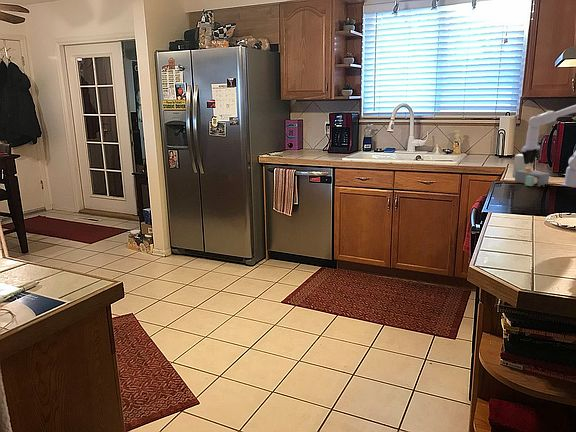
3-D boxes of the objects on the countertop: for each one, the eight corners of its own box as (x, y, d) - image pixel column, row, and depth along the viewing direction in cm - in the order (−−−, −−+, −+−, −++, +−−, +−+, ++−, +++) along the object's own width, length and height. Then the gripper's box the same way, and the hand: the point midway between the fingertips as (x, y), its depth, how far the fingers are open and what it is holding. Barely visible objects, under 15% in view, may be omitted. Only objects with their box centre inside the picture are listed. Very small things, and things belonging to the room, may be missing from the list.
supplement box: (529, 176, 281) (532, 154, 277) (525, 178, 276) (528, 156, 272) (516, 174, 286) (519, 153, 282) (511, 176, 280) (514, 155, 277)
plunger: (525, 174, 268) (526, 167, 267) (531, 175, 266) (532, 168, 264) (522, 174, 267) (523, 167, 265) (528, 175, 264) (529, 168, 263)
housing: (524, 179, 273) (525, 169, 271) (547, 184, 261) (549, 173, 260) (514, 181, 268) (516, 170, 266) (538, 186, 257) (540, 175, 255)
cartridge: (537, 181, 264) (538, 173, 263) (544, 183, 261) (545, 174, 260) (524, 184, 258) (525, 175, 257) (531, 186, 255) (532, 177, 253)
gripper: (532, 136, 267) (529, 160, 271) (517, 139, 260) (514, 163, 264) (545, 138, 261) (541, 162, 265) (529, 140, 254) (526, 165, 258)
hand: (528, 163), depth 264 cm, fingers open, 4 cm apart
